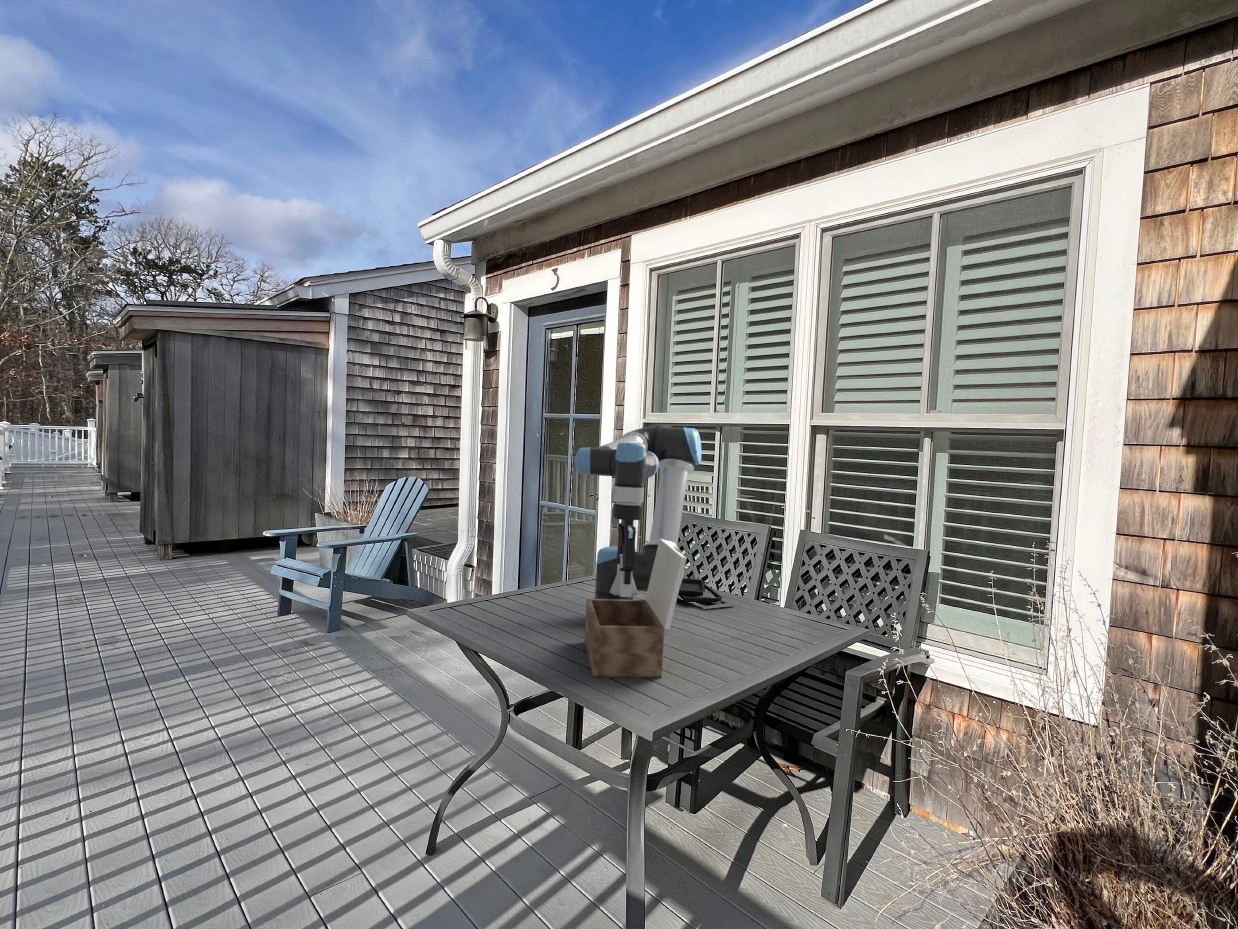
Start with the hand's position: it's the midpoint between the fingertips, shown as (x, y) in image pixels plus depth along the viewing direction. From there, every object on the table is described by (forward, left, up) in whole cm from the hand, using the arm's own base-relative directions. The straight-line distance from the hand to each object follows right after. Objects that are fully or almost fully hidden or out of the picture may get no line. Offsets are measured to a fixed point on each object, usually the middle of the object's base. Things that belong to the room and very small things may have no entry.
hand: (623, 592), depth 166 cm
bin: (0, 0, -17) cm, 17 cm away
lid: (-10, 0, +3) cm, 10 cm away
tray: (-34, -63, -18) cm, 74 cm away
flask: (0, 0, 0) cm, 0 cm away
